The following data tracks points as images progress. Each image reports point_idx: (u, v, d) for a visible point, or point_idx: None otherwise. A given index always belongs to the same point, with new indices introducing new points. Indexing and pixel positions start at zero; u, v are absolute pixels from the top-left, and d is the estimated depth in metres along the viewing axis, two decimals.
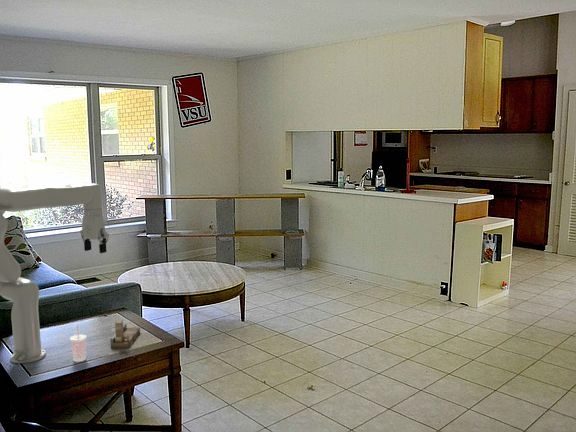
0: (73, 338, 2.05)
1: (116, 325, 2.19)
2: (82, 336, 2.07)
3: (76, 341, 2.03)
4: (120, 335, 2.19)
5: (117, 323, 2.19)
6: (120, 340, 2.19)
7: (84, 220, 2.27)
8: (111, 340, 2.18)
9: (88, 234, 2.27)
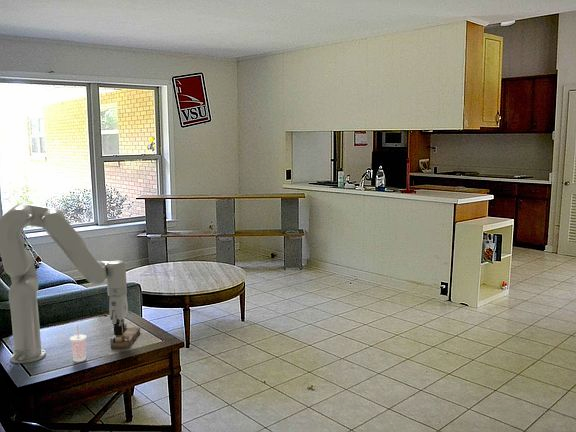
0: (73, 338, 2.05)
1: None
2: (82, 336, 2.07)
3: (76, 341, 2.03)
4: (120, 335, 2.19)
5: None
6: (120, 340, 2.19)
7: (122, 300, 2.16)
8: (111, 340, 2.18)
9: (124, 312, 2.19)
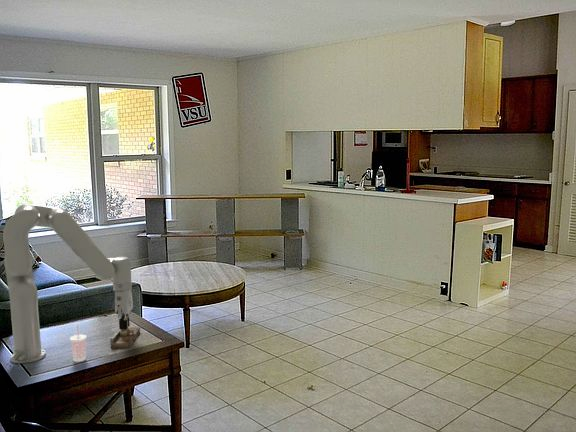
0: (73, 338, 2.05)
1: None
2: (82, 336, 2.07)
3: (76, 341, 2.03)
4: (125, 329, 2.26)
5: None
6: (125, 334, 2.26)
7: (127, 295, 2.23)
8: (111, 340, 2.18)
9: (129, 307, 2.25)
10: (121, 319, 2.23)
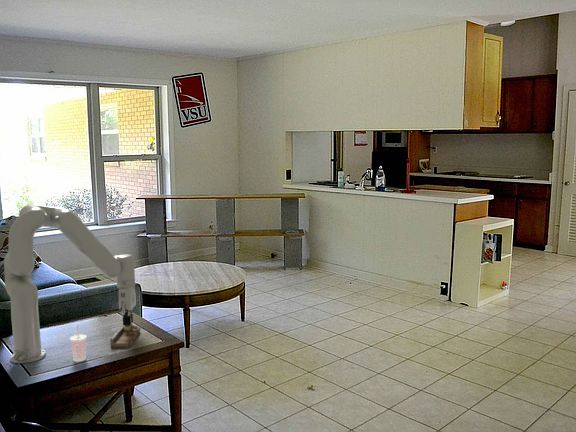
0: (73, 338, 2.05)
1: None
2: (82, 336, 2.07)
3: (76, 341, 2.03)
4: (129, 325, 2.31)
5: None
6: (129, 330, 2.31)
7: (130, 291, 2.28)
8: (111, 340, 2.18)
9: (133, 303, 2.30)
10: (125, 315, 2.28)
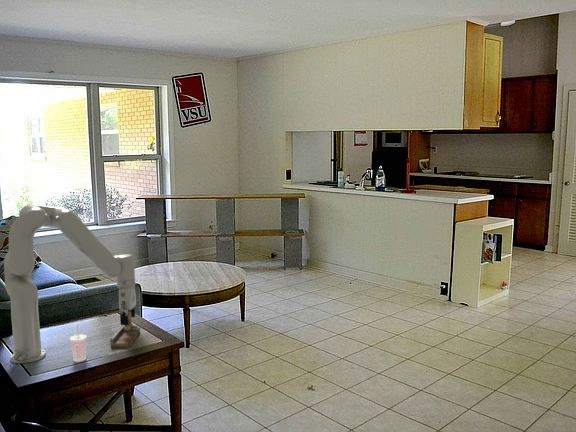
0: (73, 338, 2.05)
1: None
2: (82, 336, 2.07)
3: (76, 341, 2.03)
4: (129, 325, 2.31)
5: None
6: (129, 330, 2.31)
7: (130, 291, 2.28)
8: (111, 340, 2.18)
9: (133, 303, 2.30)
10: (122, 315, 2.25)
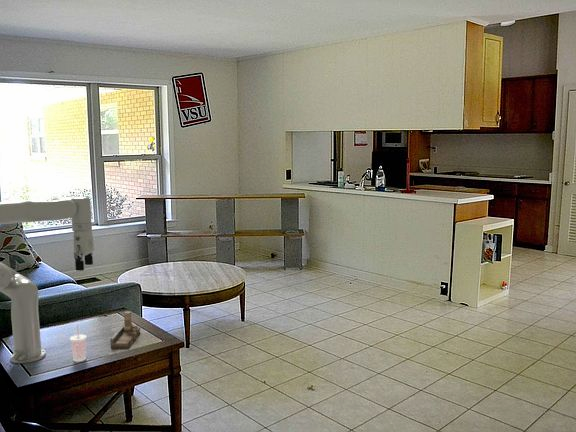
0: (73, 338, 2.05)
1: (125, 315, 2.31)
2: (82, 336, 2.07)
3: (76, 341, 2.03)
4: (129, 325, 2.31)
5: (126, 313, 2.31)
6: (129, 330, 2.31)
7: (86, 235, 2.16)
8: (111, 340, 2.18)
9: (89, 248, 2.19)
10: (77, 259, 2.13)
